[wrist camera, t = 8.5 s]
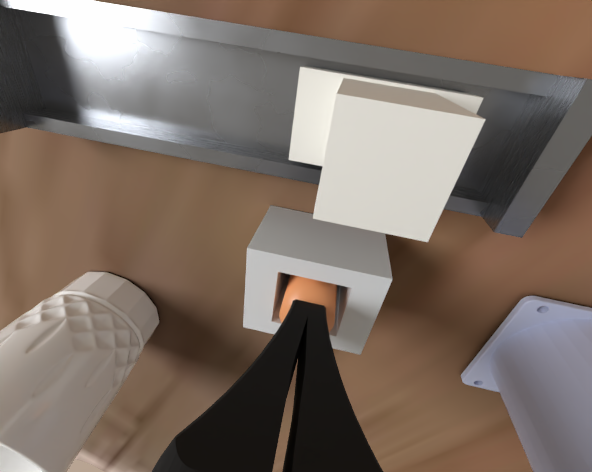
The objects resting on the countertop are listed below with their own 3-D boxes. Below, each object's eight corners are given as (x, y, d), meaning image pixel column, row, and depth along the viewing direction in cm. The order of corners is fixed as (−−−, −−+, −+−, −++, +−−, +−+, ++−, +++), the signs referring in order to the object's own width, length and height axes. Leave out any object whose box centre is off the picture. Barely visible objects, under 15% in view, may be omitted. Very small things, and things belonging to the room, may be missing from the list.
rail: (557, 76, 10) (626, 85, 8) (488, 200, 13) (521, 237, 11) (4, -13, 12) (-96, -31, 9) (45, 115, 15) (-23, 129, 12)
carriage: (471, 93, 10) (567, 127, 6) (435, 177, 12) (485, 257, 7) (305, 65, 11) (266, 75, 6) (293, 151, 12) (256, 210, 8)
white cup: (186, 314, 21) (78, 481, 13) (139, 350, 25) (32, 498, 17) (91, 244, 19) (-113, 390, 11) (55, 295, 23) (-116, 434, 15)
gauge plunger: (343, 245, 15) (340, 305, 12) (334, 279, 17) (328, 342, 13) (299, 236, 16) (282, 293, 12) (293, 270, 17) (276, 330, 13)
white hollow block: (384, 228, 15) (392, 279, 12) (359, 297, 18) (360, 354, 14) (270, 205, 15) (247, 248, 12) (263, 276, 18) (243, 327, 15)
